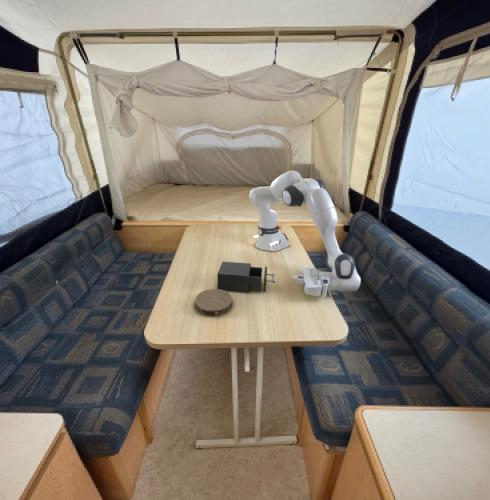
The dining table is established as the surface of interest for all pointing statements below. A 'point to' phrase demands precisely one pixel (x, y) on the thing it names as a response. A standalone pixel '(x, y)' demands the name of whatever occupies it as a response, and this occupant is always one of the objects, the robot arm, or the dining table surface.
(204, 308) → the round wood slice
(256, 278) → the drawer
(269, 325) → the dining table surface
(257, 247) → the robot arm
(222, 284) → the cabinet
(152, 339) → the dining table surface
